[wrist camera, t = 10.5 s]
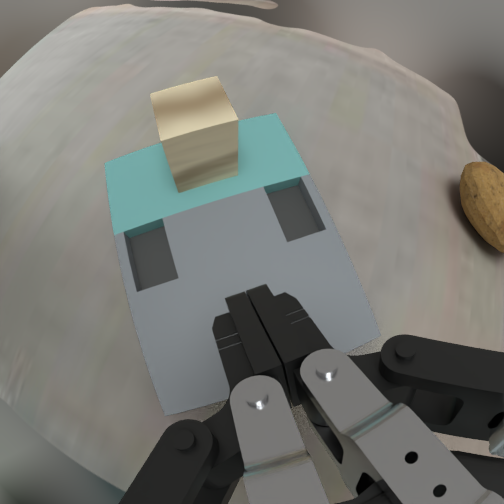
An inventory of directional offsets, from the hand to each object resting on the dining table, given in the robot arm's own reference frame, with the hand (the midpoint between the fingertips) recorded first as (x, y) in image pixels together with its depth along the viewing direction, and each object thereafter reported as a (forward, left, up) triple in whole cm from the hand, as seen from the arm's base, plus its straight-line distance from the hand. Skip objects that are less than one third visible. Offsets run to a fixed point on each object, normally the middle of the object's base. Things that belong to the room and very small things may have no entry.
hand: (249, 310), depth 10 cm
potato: (+23, +25, -16) cm, 38 cm away
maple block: (-11, +13, -14) cm, 22 cm away
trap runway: (-5, +7, -16) cm, 18 cm away
